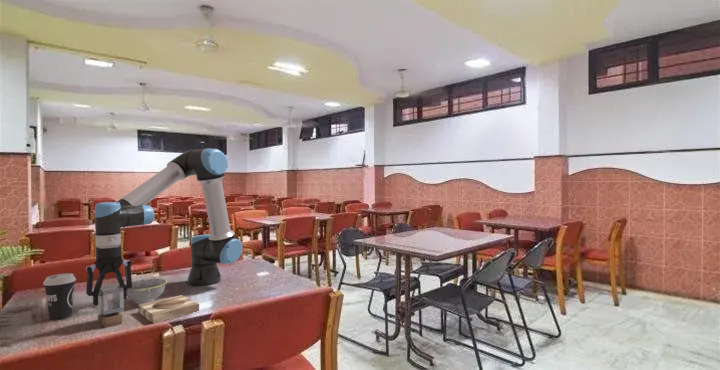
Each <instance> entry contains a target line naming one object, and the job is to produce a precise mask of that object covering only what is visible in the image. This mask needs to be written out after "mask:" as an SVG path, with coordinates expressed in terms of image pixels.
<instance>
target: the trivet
mask: <svg viewBox="0 0 720 370" xmlns="http://www.w3.org/2000/svg"><path fill="white" fill-rule="evenodd" d="M137 305H138V306H137V307H138V313H139V314H140V315H141V316H142V317H144V318H145V319H146V320H148V321H149V322H151V323H152V324H153V323H154V324H157V323H161V322H160V321H162V322H164V321H163V320H166V319H169V320H171V319H170V318H173V317H177V316H181V315H185V314H189V313H193V312H197V311H199V312H200V303H199V302H196V301H195V300H192V299H191V298H188V297H187V296H185V295H183V294H180V295H176V296H172V297H167V298H162V299H158V300H155V301H153V302H148V303H144V304H137ZM197 313H198V312H197ZM193 314H194V313H193ZM189 315H190V314H189ZM185 316H186V315H185ZM181 317H182V316H181ZM177 318H178V317H177ZM173 319H174V318H173ZM166 321H167V320H166Z"/></svg>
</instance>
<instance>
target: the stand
mask: <svg viewBox="0 0 720 370" xmlns="http://www.w3.org/2000/svg"><path fill="white" fill-rule="evenodd" d="M97 321H98V322H99V323H100V325H102V326H103V327H104V328H111V327H115V326H118V325H122V324H123V314H121V313H120V311H119V312H115V313H111V314H107V315H103V314H102V315H98V314H97Z"/></svg>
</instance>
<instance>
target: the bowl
mask: <svg viewBox="0 0 720 370" xmlns="http://www.w3.org/2000/svg"><path fill="white" fill-rule="evenodd" d="M167 283H168V280H166V279H163V278H144V279H139V280H133V281H132V287H131V288H129V289H127V291H126V294H127V298H128V299H129V300H130V301H133V302H135V304H136V305H139V304H144V303H148V302H153V301H156V299H158V298H159V297H161V295H162V294H163V292H164V290H165V287H166V285H167ZM125 285H126V283H125Z"/></svg>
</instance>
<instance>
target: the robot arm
mask: <svg viewBox="0 0 720 370" xmlns="http://www.w3.org/2000/svg"><path fill="white" fill-rule="evenodd" d="M228 163H229V162H228V159H227V156H226V155H225V154H224V152H223V151H221V150H220V149H218V148H200V149H199V148H198V149H197V148H196V149H195V148H194V149H189V150H187V151H184V152H182V153H181V154H179V155H178V156H177V157H175V158H173V159H172V160H170V161H169V162H168V163H167V164H166V167H164V168H163V169H161V170H160V171H159V172H157V173H156V174H155V175H153V176H151V177H149V178H148V179H147V180H146V181H145V182H143V183H142V184H140V185H139V186H137V187H135V188H134V189H133V190H132V191H130V192H129V193H127V194H126V195H124V196H123V197H122V198H120V199H119V200H117V201H105V202H98V203H96V204H95V206H94V216H93V217H94V228H95V229H94V230H95V231H94V232H95V247H96V249H95V262H94V263H93V264H91V265H86V266H85V271H86V273H87V274H86V291H85V292H86V293H85V294H86V295H87V296H88V297H92V303H93V306H94V307H95V306H96V314H97V316H98V315H102V313H101V296H100V295H99V291H100V288H101V286H102V285H103V282H104V278H105V277H106V274H110V273H113V274H114V275H115V278H116V280H117V282H118V283H117V284H118V285H120V286H121V287H123V292H124V300H126V299H127V298H128V297H127V294H126V291H127V289H129V288H131V287H132V282H133V279H132V270H131V266H132V263H133V261H132V260H130V259H127V260H126V259H123V257H122V256H123V255H122V245H121V244H122V235H121V234H122V229H123V228H128V227H138V226H145V225H150V224H152V223H153V222H154V220H155V210H154V209H153V207H152V206H150V205H149V203H150V202H151V201H153V200H154V199H155V198H157V197H158V196H160V195H161V194H162V193H163V192H165V191H166V190H168V189H169V188H170V187H172V186H173V185H174V184H175V183H176V182H178V181H184V180H185V179H186V178H188V177H191V176H196V179H197V182H199V183H200V184H201V187H202V194H203V198H204V204H205V208H206V212H207V218H208V222H209V223H208V224H209V228H210V233H208V234H207V233H205V234H198V235H193V236H192V237H191V239H190V263H191V264H190V265H191V266H190V270H189V273H188V277H187V285H189V286H197V287H198V286H199V287H200V286H201V287H202V286H210V285H213V284H217V283H219V282H221V280H222V275H221V272H220V270H219V267H218V264H224V265H226V264H227V265H228V264H229V265H230V264H234V263H235V262H237V261H238V260H239V258H240V256H241V255H242V252H243V243H242V241H240V240H239V239H237V238H236V234H235V231H233V230H232V229H231V225H230V220H229V213H228V208H227V203H226V198H225V192H224V191H225V190H224V187H223V179H224V178H225V173H226V171H227V168H228ZM122 265H123V266H124V274H125V282H124V278H123V277H122V274H121V271H120V267H121V266H122ZM95 269H97V270H98V274H97V275H98V276H97V279H96V282H95V284H94V286H93V283H94V272H95ZM125 284H126V285H125ZM93 287H94V288H93Z"/></svg>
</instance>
